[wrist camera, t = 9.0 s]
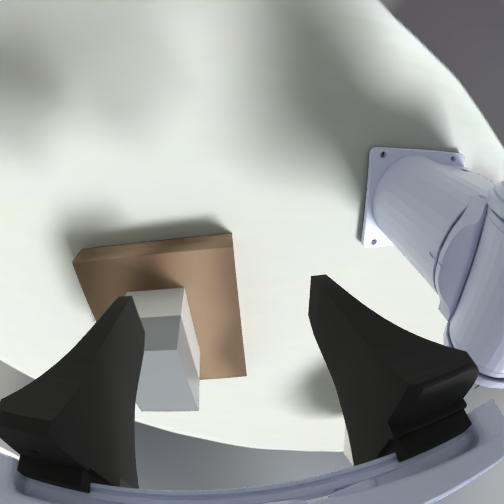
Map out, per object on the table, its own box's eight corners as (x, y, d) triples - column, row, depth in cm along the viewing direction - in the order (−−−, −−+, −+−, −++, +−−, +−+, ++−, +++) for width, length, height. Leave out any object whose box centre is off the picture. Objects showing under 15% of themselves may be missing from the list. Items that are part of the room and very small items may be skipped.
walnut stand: (231, 233, 22) (233, 246, 20) (244, 360, 29) (246, 376, 27) (81, 249, 21) (72, 262, 20) (130, 366, 28) (127, 381, 27)
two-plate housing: (184, 287, 21) (176, 349, 16) (200, 352, 25) (198, 410, 20) (126, 292, 21) (106, 351, 16) (150, 354, 25) (141, 411, 20)
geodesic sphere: (354, 466, 38) (422, 501, 25) (298, 459, 32) (379, 513, 19) (397, 386, 42) (471, 408, 29) (353, 360, 36) (448, 388, 24)
